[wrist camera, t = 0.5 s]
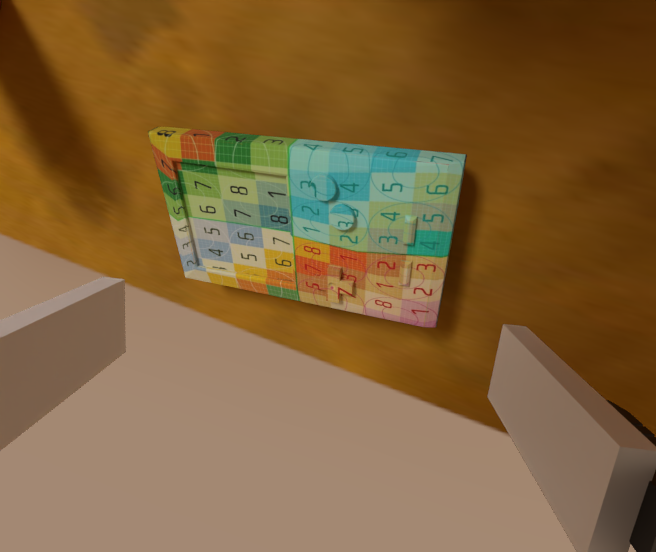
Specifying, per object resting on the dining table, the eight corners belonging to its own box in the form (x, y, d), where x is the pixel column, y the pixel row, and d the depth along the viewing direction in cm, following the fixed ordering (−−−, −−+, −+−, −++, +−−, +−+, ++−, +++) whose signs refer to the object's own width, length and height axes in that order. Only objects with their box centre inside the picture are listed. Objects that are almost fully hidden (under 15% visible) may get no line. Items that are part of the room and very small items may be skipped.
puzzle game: (434, 336, 29) (178, 284, 34) (442, 294, 32) (209, 253, 38) (464, 169, 22) (138, 136, 27) (469, 140, 26) (181, 116, 31)
